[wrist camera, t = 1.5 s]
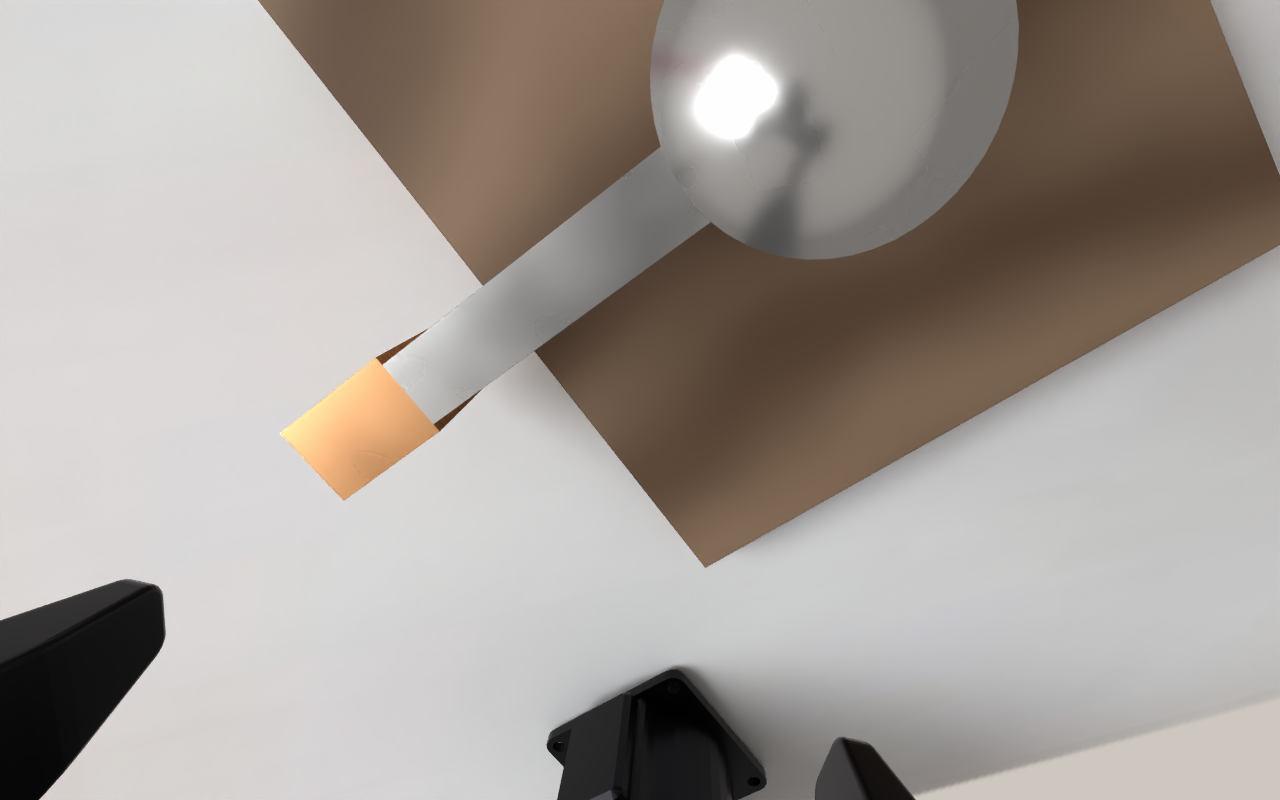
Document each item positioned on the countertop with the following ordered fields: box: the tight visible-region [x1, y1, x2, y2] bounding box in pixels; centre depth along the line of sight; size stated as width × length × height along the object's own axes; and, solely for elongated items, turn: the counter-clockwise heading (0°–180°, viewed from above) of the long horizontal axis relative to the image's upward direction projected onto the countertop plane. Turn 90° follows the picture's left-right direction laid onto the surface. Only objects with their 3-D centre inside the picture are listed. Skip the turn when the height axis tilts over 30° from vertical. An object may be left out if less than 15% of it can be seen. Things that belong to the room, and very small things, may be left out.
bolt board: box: [258, 0, 1280, 568], centre depth 13 cm, size 20×18×6 cm
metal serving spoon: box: [280, 0, 1019, 500], centre depth 13 cm, size 16×6×4 cm, turn 126°
